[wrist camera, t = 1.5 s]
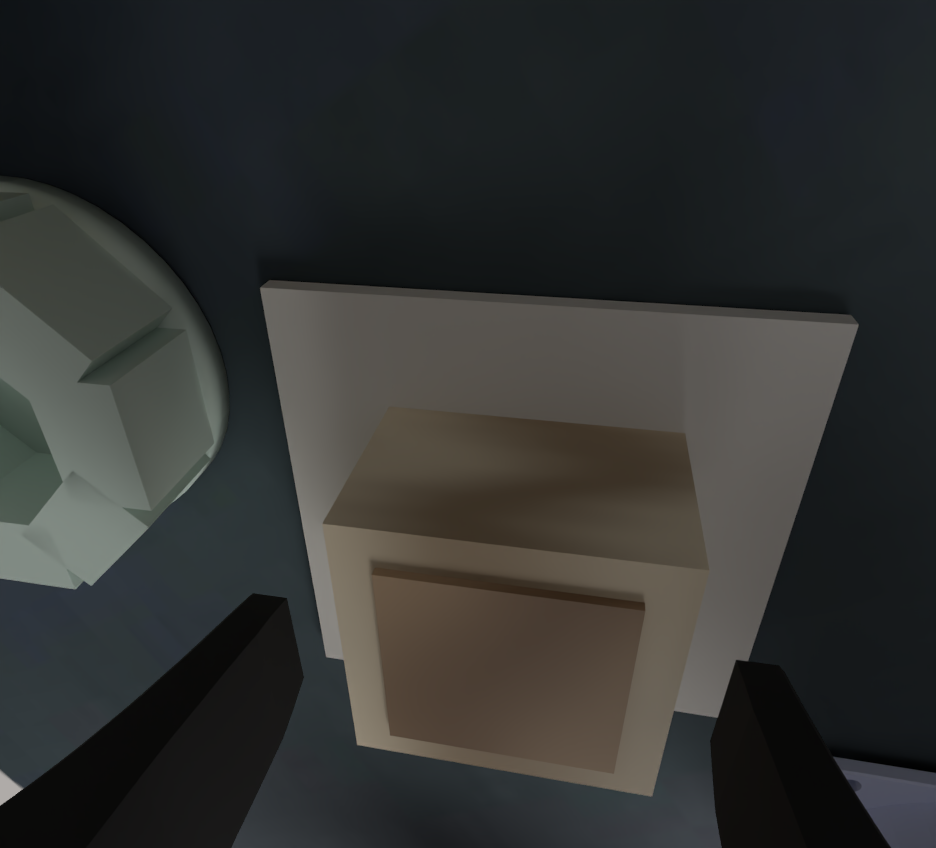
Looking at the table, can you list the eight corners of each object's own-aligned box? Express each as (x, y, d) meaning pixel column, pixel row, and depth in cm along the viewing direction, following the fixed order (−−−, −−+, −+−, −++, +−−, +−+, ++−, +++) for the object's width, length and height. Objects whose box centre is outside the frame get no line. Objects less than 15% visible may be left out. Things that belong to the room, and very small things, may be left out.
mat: (851, 314, 11) (859, 324, 10) (726, 704, 16) (728, 719, 15) (269, 280, 12) (260, 287, 12) (331, 644, 17) (325, 657, 17)
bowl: (183, 182, 11) (64, 228, 9) (257, 512, 15) (188, 609, 13) (-168, 169, 13) (-361, 207, 10) (-17, 479, 17) (-130, 562, 14)
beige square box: (685, 432, 12) (710, 579, 9) (643, 641, 15) (652, 805, 12) (389, 406, 13) (317, 530, 10) (405, 607, 16) (354, 752, 12)
